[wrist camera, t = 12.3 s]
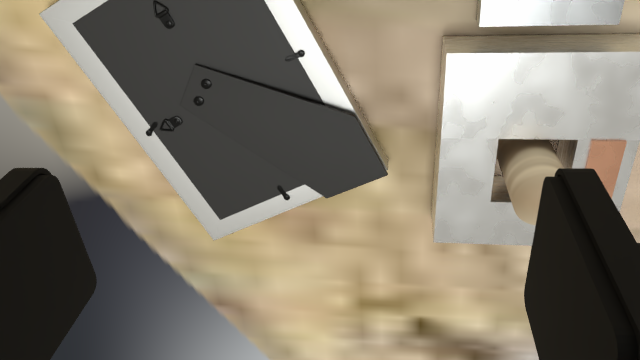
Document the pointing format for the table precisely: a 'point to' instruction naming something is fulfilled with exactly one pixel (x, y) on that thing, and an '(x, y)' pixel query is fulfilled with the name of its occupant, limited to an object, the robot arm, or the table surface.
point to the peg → (526, 172)
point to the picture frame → (225, 101)
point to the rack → (531, 110)
